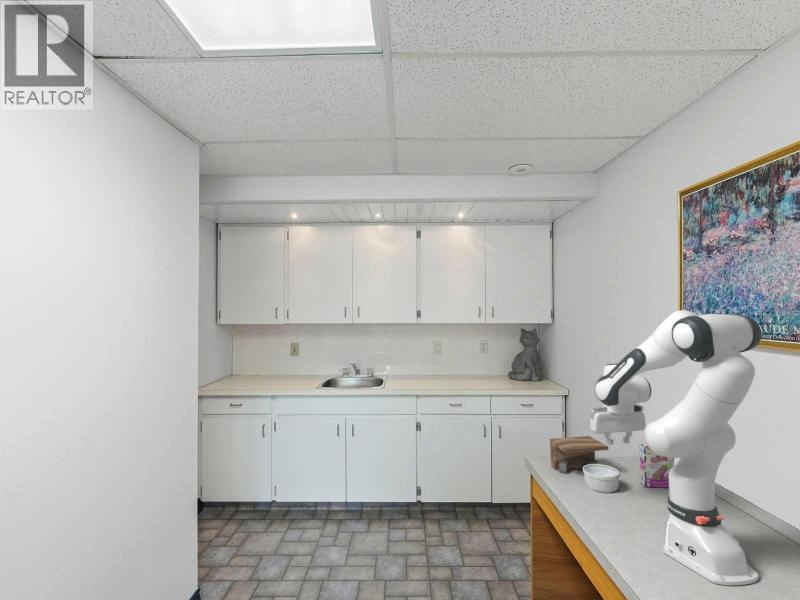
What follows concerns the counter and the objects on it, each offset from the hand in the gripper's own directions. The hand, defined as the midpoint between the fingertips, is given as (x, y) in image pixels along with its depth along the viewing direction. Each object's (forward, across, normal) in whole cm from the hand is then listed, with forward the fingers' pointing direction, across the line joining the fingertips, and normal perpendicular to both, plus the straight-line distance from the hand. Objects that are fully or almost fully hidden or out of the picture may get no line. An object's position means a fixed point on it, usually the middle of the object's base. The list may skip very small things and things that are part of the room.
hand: (618, 443), depth 152 cm
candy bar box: (+21, +22, +8) cm, 32 cm away
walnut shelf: (+21, 0, +28) cm, 35 cm away
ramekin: (+22, 0, +12) cm, 24 cm away
